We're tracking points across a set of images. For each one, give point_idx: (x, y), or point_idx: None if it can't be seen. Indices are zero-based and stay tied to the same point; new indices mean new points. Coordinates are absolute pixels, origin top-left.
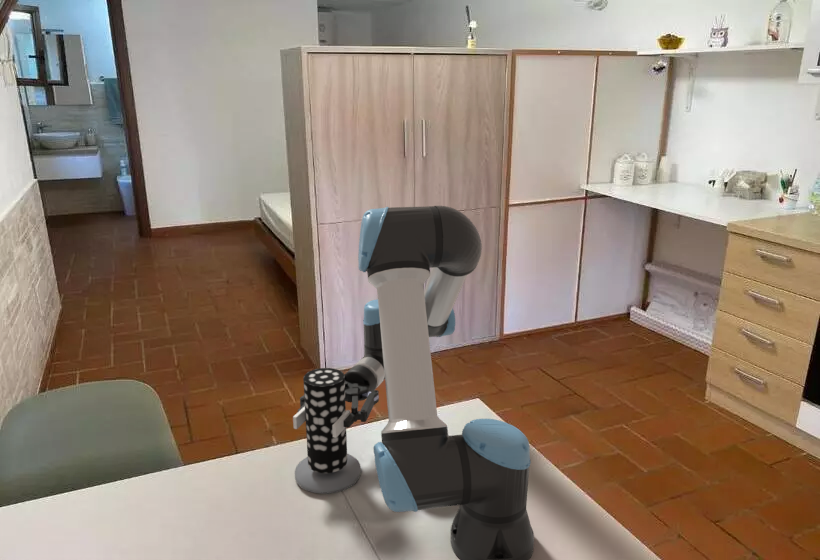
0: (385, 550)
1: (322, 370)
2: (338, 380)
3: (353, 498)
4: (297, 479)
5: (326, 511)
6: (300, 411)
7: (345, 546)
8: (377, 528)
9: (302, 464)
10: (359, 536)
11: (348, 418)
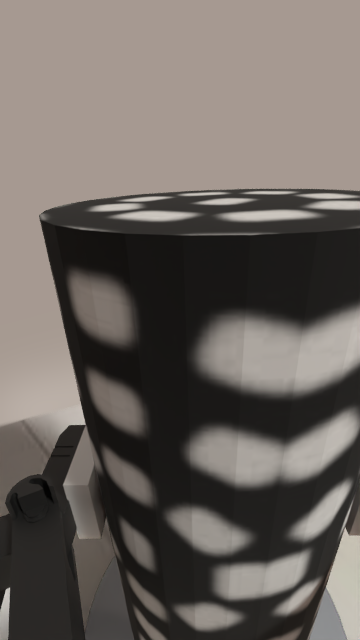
0: (4, 429)
1: (345, 209)
2: (86, 206)
3: (88, 544)
4: None
5: None
6: None
7: (77, 416)
8: (18, 468)
9: (321, 614)
10: (55, 440)
11: (70, 449)
